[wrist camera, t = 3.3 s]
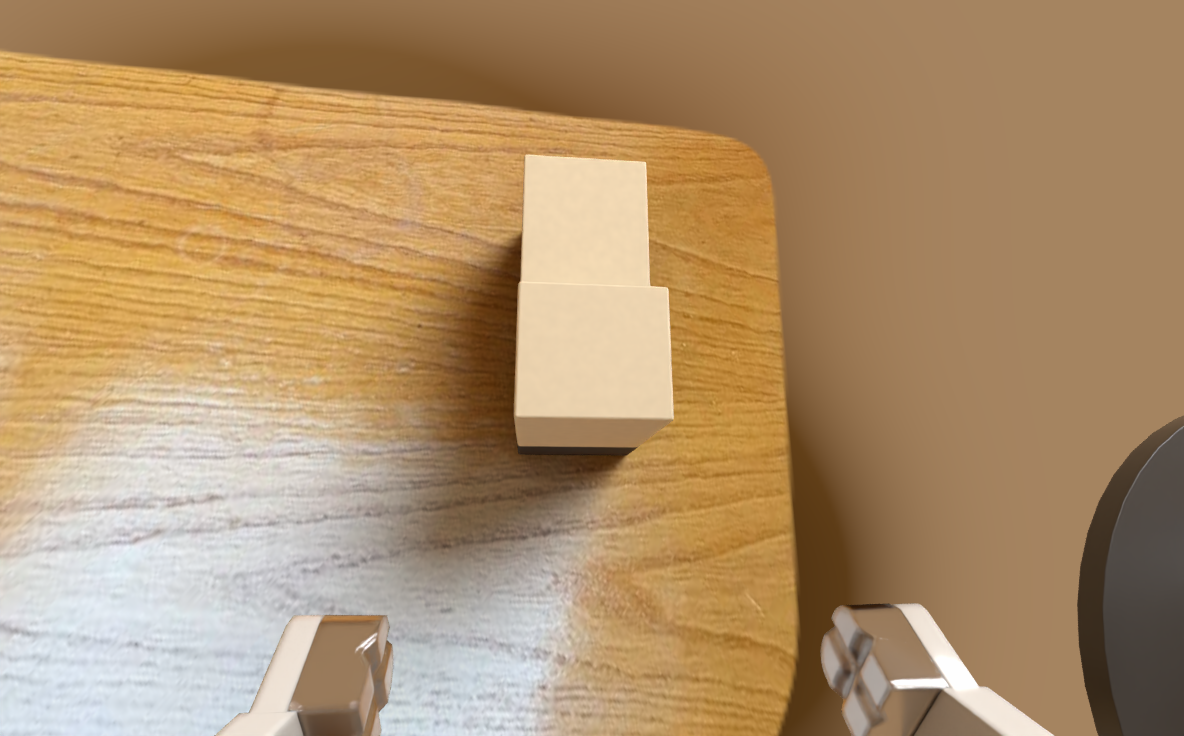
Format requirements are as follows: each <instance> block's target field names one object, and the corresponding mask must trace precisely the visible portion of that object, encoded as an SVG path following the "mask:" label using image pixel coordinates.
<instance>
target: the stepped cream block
mask: <svg viewBox="0 0 1184 736" xmlns="http://www.w3.org/2000/svg"><path fill="white" fill-rule="evenodd" d="M673 418H674V414H673V389H672V365H671V340H670V315H669V291H668V288H666V287H650V272H649V241H648V209H647V177H646V162H638V161H621V160H605V159H588V158H572V157H556V156H539V155H525V156H524V184H523V216H522V247H521V279H520V282H519V284H518V301H517V331H516V362H515V393H514V421H515V429H516V437H517V445H518V453H519V454H525V455H628V454H629V453H631V452H632V451H633V450H635V449H636V448H637V447H638V446H639V445H641V444H642V443H643V442H645V441H646V440H647V439H649V438H650V437H651V436H653V435H654V434H655V433H657V432H658V431H659V430H661V429H662V428H663V427H665V426H666V425H667V424H669V423H670V422H671V421H673Z"/></svg>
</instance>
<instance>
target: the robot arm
mask: <svg viewBox="0 0 1184 736" xmlns="http://www.w3.org/2000/svg"><path fill="white" fill-rule="evenodd" d="M832 620H833V622H834V624H835V627H834V628H832V629H831V630H830V631H828V632H827V633H826V634H825V636H824V638H823V642H822V644H821V662H822V665H823V670H824V673H825V676H826V678H827V680H828V683H829V685H830V687H831V688H832V689H833V690H834V691H835V692H837V694H839V695H840V696H841V697H842V698H843V699H844V701H843V707H842V711H841V712H842V714H843V717H844V719H845V721H846V723H847V725H848V728H849V730H850V732H851V734H852V736H1054V735H1052V734H1051V733H1050V732H1048V731H1047V730H1046V729H1044V728H1043V727H1041V726H1040V725H1039V724H1037V723H1036V722H1034V721H1033V720H1032V719H1030V718H1029V717H1028V716H1026V715H1025V714H1023V713H1022V712H1021V711H1019V710H1018V709H1017V708H1015V707H1014V706H1013V705H1011V704H1010V703H1008V702H1007V701H1006V700H1004V699H1003V698H1002V697H1000V696H999V695H997V694H996V693H994V692H993V691H992V690H991V689H989V688H988V687H979V686H978V685H977V683H976V682H975V680H974V679H973V677H972V676H971V674H970V673H969V672H968V670H967V668H966V667H965V666H964V664H963V663H962V661H961V660H960V658H959V657H958V655H957V654H956V652H955V651H954V649H953V648H952V647H951V645H950V643H949V642H948V641H947V639H946V638H945V636H944V635H943V633H942V632H941V630H940V629H939V627H938V626H937V624H936V623H935V621H934V620H933V618H932V617H931V616H930V614H929V613H928V611H927V610H926V609H925V608H924V607H923V606H921V605H920V604H894V605H891V604H866V605H841V606H840V607H838V608H837V609H835V612H834V614H833V616H832ZM389 628H390V627H389V622H388V617H387V615H301V616H293V617H292V619H291V620H290V621H289V623H288V624H287V625H286V627H285V630H284V632H283V634H282V637H281V639H280V641H279V644H278V646H277V648H276V651H275V653H274V655H273V658H272V660H271V662H270V665H269V667H268V669H267V672H266V674H265V676H264V679H263V681H262V683H261V686H260V688H259V690H258V693H257V695H256V697H255V700H254V702H253V704H252V707H251V709H250V711H249V713H239V714H238V715H237V716H236V717H235V718H234V719H232V720H231V721H230V722H229V723H228V724H227V725H226V726H225V727H224V728H223V729H221V730H220V731H219V732H218V733H217V734H216V735H215V736H380V734H381V725H380V719H379V711H380V710H381V709H382V708H383V707H384V706H385V705H386V704H387V703H388V698H389V693H390V689H391V683H392V674H393V648H392V644H391V643H389V642H388V641H387V637H388V632H389Z"/></svg>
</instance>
